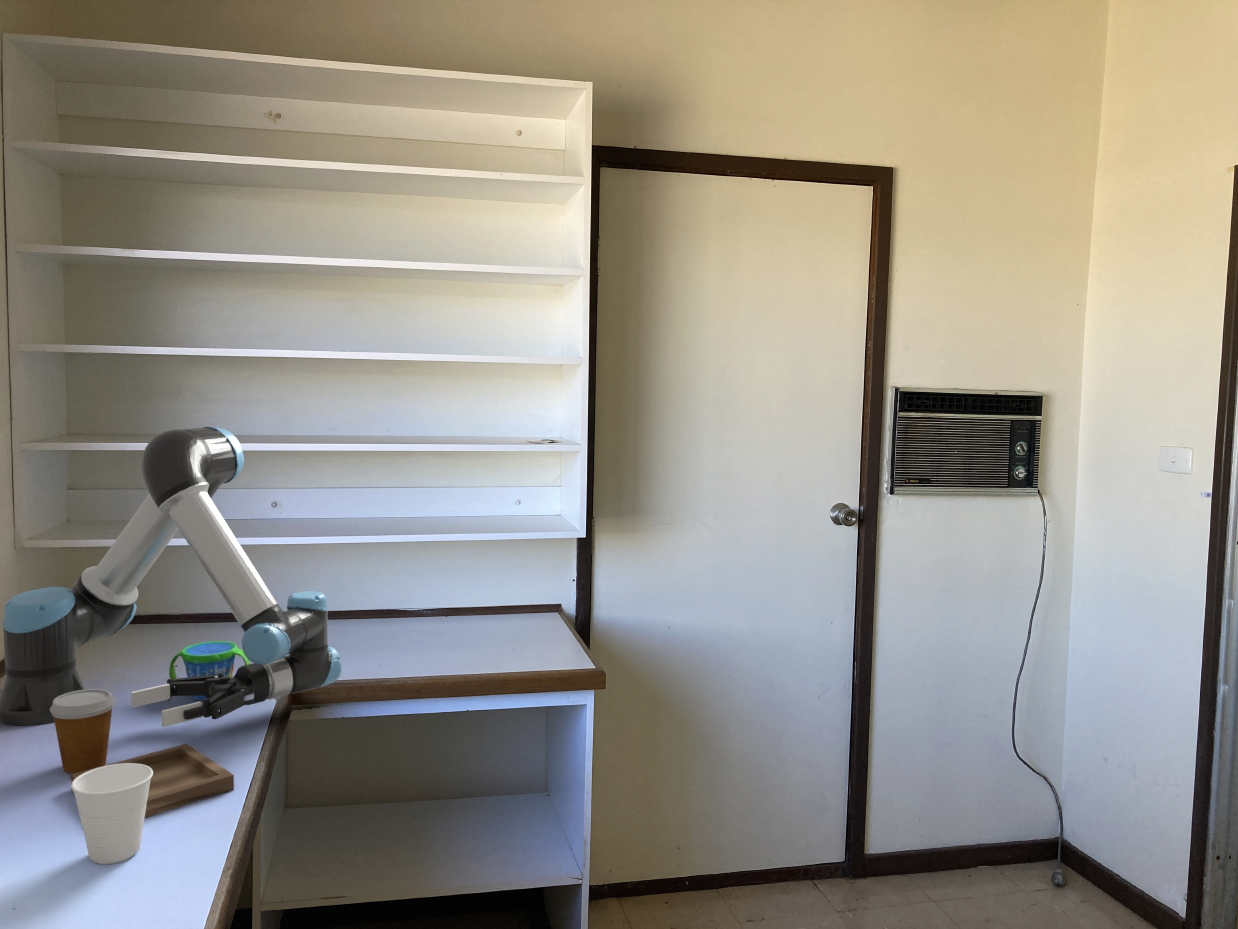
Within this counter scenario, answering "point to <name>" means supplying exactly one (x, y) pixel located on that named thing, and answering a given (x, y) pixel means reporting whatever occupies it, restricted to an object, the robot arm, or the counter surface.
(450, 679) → the counter surface
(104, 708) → the disposable coffee cup
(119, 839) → the cup
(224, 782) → the tray
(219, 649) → the snack cup
